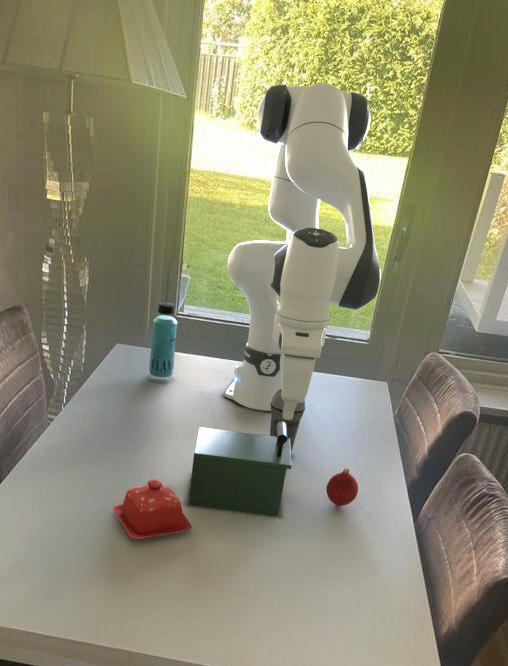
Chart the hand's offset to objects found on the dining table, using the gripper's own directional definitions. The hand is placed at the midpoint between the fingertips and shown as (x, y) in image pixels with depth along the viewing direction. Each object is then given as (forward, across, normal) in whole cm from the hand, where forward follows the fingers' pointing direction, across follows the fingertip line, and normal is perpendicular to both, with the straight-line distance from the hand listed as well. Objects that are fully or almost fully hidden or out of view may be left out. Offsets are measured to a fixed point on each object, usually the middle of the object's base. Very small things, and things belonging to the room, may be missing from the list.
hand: (286, 407), depth 124 cm
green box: (+19, 0, -7) cm, 20 cm away
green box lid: (+9, 0, -7) cm, 11 cm away
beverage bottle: (+19, -58, -29) cm, 68 cm away
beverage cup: (+19, -20, +2) cm, 28 cm away
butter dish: (+19, +14, -21) cm, 32 cm away
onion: (+19, -1, +13) cm, 23 cm away
